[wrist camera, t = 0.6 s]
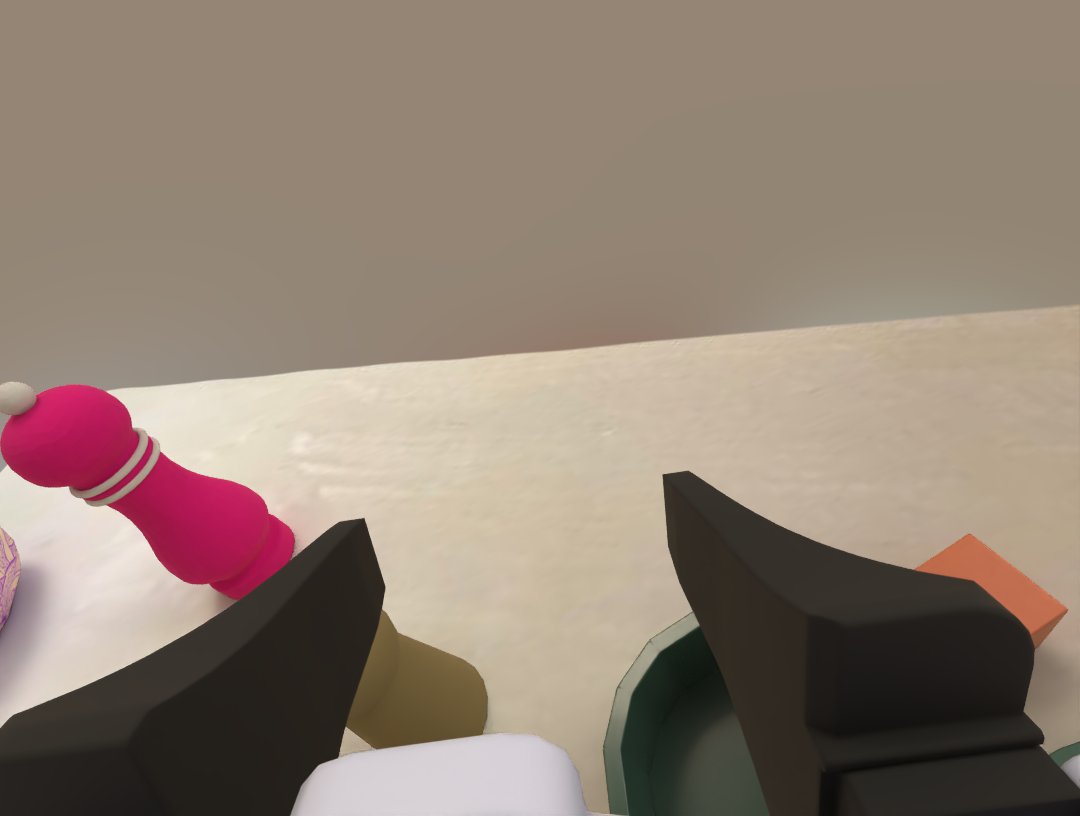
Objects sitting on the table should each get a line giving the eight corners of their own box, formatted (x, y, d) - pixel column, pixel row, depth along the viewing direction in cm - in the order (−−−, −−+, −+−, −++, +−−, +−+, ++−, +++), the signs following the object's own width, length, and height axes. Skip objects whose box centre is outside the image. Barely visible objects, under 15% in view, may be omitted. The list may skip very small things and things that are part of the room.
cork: (481, 642, 33) (380, 556, 25) (494, 759, 29) (378, 698, 21) (388, 674, 34) (262, 600, 26) (387, 793, 29) (236, 747, 22)
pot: (1013, 870, 20) (1069, 856, 16) (751, 1059, 20) (735, 1097, 15) (787, 608, 28) (783, 552, 24) (595, 734, 28) (555, 699, 23)
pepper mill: (285, 599, 40) (3, 424, 26) (202, 613, 42) (-103, 457, 28) (311, 510, 45) (87, 324, 31) (237, 527, 47) (-8, 357, 33)
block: (1040, 645, 24) (1070, 609, 21) (965, 697, 24) (985, 667, 21) (953, 572, 27) (970, 532, 24) (885, 618, 27) (894, 582, 24)
